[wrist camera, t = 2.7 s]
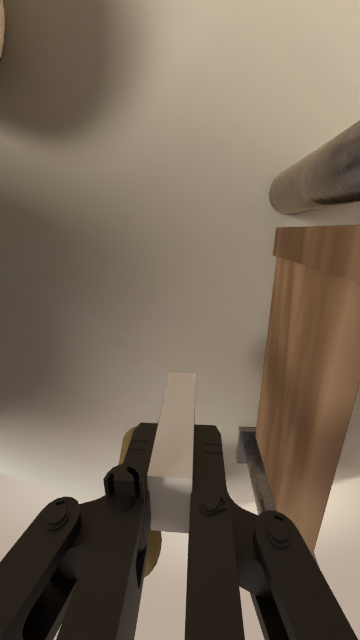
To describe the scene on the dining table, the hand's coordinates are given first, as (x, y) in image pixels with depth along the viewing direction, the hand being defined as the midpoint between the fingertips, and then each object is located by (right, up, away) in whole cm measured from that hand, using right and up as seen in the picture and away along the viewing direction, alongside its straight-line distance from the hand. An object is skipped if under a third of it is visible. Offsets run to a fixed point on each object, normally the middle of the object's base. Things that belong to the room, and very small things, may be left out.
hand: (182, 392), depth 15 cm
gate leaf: (+8, +2, +7) cm, 11 cm away
